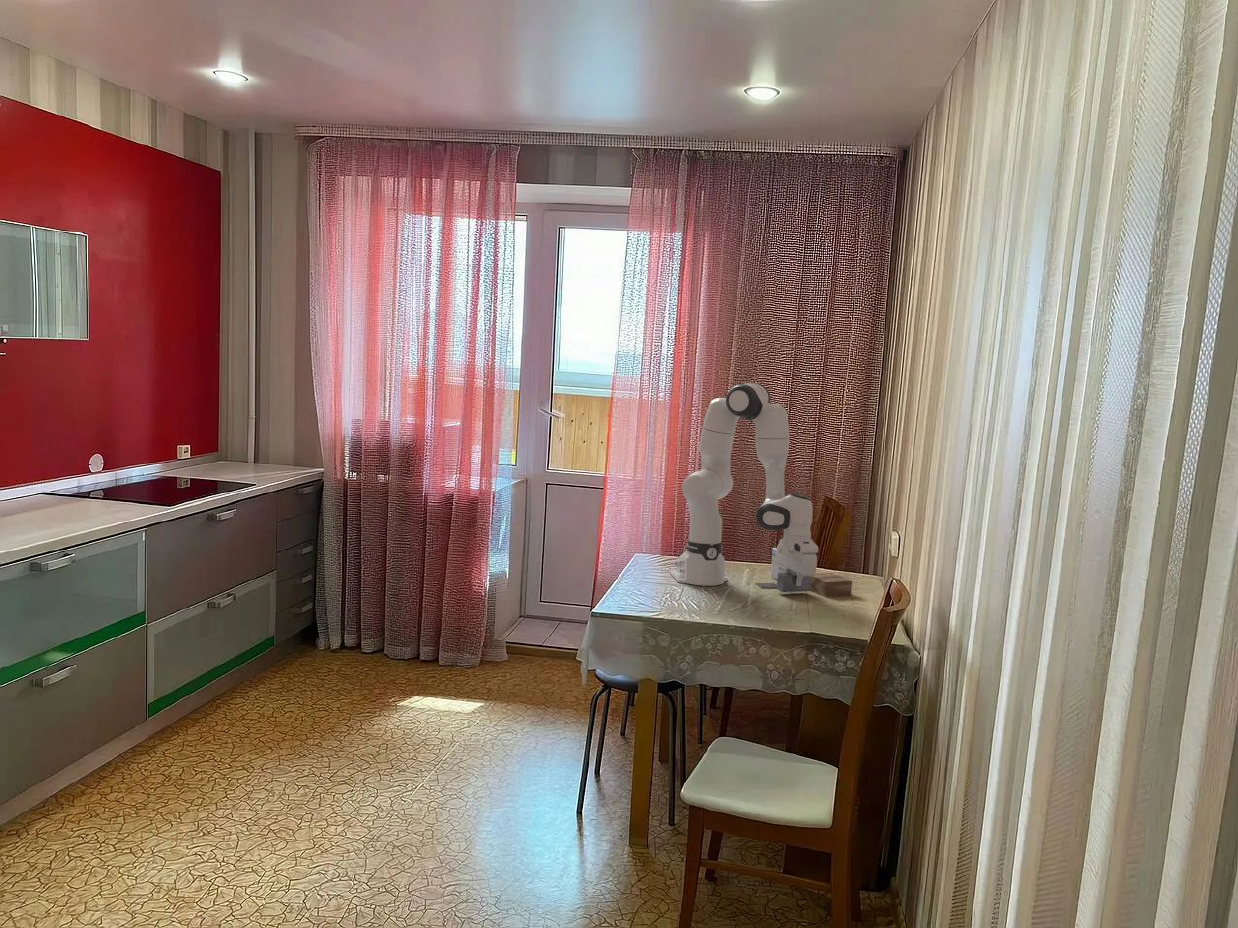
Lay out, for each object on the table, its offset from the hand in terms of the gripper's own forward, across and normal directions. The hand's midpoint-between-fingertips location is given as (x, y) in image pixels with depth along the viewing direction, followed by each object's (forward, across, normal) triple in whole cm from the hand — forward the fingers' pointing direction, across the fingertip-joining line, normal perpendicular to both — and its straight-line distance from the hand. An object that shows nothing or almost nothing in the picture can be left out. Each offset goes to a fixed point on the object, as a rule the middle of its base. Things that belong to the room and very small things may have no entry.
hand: (793, 583), depth 309 cm
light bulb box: (+4, -18, +8) cm, 21 cm away
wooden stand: (+4, 0, +14) cm, 15 cm away
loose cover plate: (+4, -12, -3) cm, 13 cm away
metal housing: (+2, 0, 0) cm, 2 cm away
